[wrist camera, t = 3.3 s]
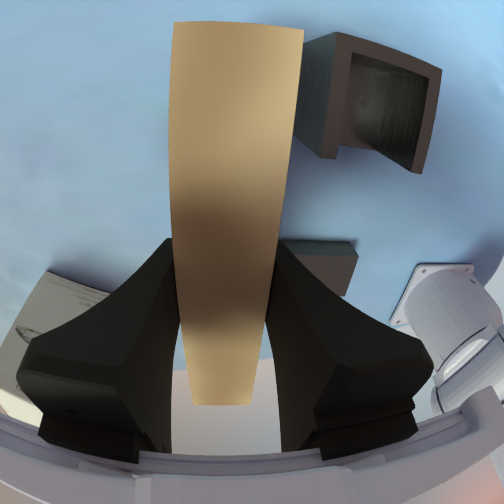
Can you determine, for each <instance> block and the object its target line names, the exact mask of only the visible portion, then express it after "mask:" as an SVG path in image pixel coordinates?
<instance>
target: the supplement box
mask: <svg viewBox="0 0 504 504" xmlns="http://www.w3.org/2000/svg"><path fill="white" fill-rule="evenodd" d="M109 295H110V293H107V292H103V291H99V290H96V289H93V288H90V287H87V286H84V285H81V284H78V283H76V282H73V281H70V280H68V279H65V278H62V277H60V276H57V275H55V274H53V273H50V272H48V271H45V272H44V274H43V275H42V277H41V278H40V280H39V281H38V283H37V284H36V286H35V288H34V289H33V291H32V292H31V294H30V296H29V297H28V299H27V300H26V302H25V304H24V306H23V307H22V309H21V311H20V312H19V314H18V316H17V318H16V320H15V321H14V323H13V325H12V327H11V329H10V330H9V332H8V334H7V336H6V338H5V340H4V342H3V344H2V346H1V348H0V404H1V405H2V407H3V408H4V409H5V411H6V412H7V413H8V415H9V416H10V417H13V418H15V419H18V420H20V421H23V422H26V423H29V424H31V425H34V426H37V427H40V423H41V419H42V416H43V413H42V412H41V411H40V410H39V409H38V408H37V407H36V406H35V405H34V404H33V402H32V401H31V400H30V399H29V398H28V397H27V396H26V395H25V394H24V393H23V391H22V390H21V389H20V387H19V385H18V383H17V380H16V373H17V371H18V368H19V366H20V363H21V361H22V359H23V356H24V354H25V352H26V350H27V347H28V345H29V343H30V341H31V339H32V338H34V337H37V336H39V335H41V334H43V333H46V332H48V331H50V330H52V329H54V328H57V327H59V326H61V325H63V324H64V323H66V322H68V321H70V320H72V319H74V318H75V317H77V316H79V315H80V314H82V313H84V312H85V311H87V310H88V309H90V308H91V307H93V306H94V305H96V304H97V303H99V302H100V301H102V300H103V299H105V298H106V297H107V296H109Z"/></svg>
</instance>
